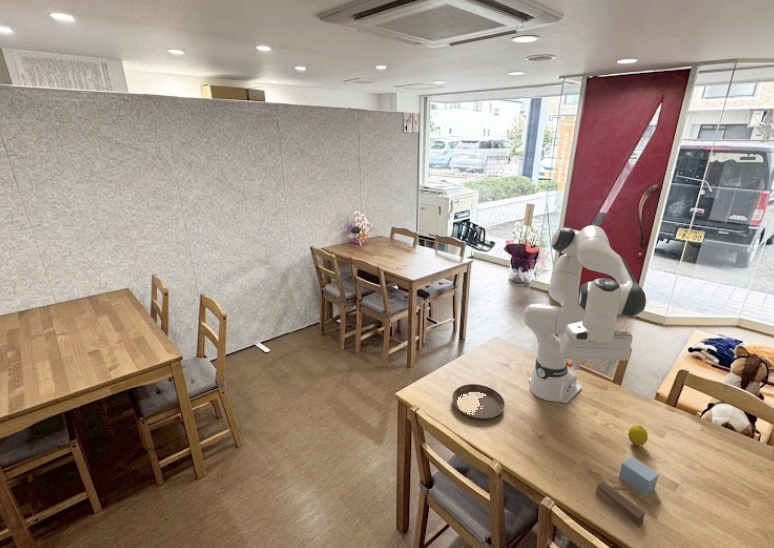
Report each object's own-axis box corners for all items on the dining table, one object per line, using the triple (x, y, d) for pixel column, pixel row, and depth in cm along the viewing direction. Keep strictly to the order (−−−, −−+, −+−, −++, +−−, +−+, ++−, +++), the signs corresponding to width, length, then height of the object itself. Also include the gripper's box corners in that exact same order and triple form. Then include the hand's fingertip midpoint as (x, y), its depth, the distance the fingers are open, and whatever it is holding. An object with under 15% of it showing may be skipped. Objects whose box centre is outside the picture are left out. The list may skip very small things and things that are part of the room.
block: (627, 471, 122) (631, 456, 120) (654, 489, 115) (658, 474, 113) (618, 477, 120) (622, 462, 118) (645, 496, 113) (649, 481, 111)
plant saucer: (515, 415, 148) (516, 408, 147) (470, 430, 141) (470, 422, 140) (483, 385, 166) (484, 379, 165) (442, 397, 159) (443, 391, 158)
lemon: (642, 440, 134) (647, 422, 131) (647, 452, 129) (651, 433, 126) (624, 437, 136) (629, 419, 133) (628, 448, 131) (633, 429, 128)
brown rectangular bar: (601, 489, 116) (603, 481, 114) (642, 521, 106) (645, 512, 104) (595, 494, 114) (597, 485, 113) (636, 527, 104) (639, 517, 103)
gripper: (628, 327, 119) (620, 365, 123) (560, 325, 121) (555, 363, 125) (638, 336, 113) (630, 376, 117) (567, 334, 115) (561, 373, 119)
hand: (591, 369), depth 121 cm, fingers open, 8 cm apart
